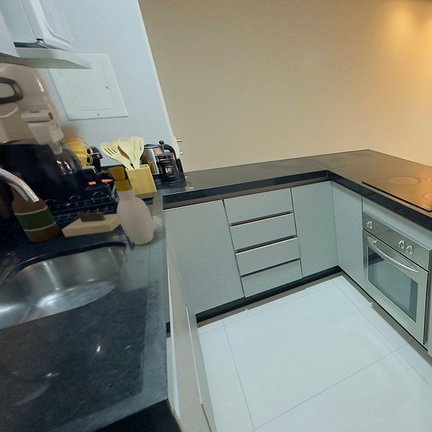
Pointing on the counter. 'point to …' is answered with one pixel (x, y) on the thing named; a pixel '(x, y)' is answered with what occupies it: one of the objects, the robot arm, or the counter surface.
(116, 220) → the beige flat block
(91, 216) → the dark brown bar
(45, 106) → the robot arm
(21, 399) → the counter surface
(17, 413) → the counter surface
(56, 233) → the beer bottle
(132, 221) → the soap bottle
